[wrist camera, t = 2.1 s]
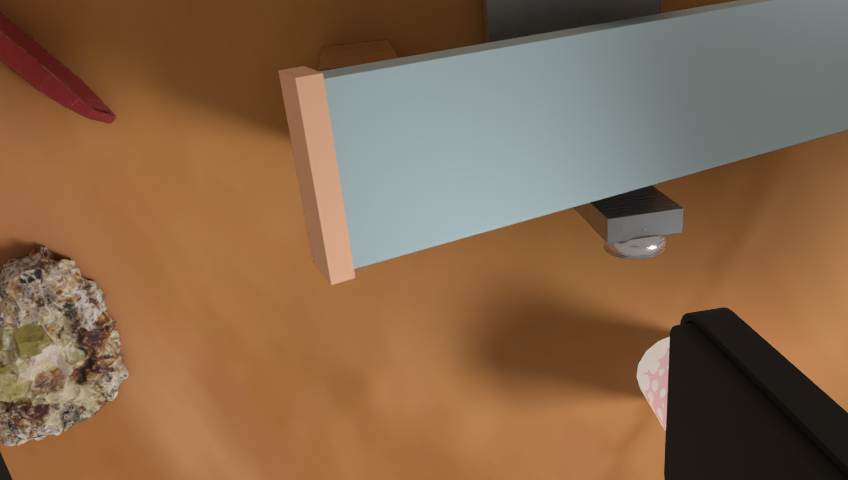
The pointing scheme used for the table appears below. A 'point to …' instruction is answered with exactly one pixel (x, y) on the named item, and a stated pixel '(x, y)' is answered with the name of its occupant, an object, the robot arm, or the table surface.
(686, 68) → the balance beam
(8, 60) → the utility knife
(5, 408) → the mineral rock
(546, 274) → the table surface
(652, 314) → the table surface
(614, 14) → the beam stand
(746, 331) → the robot arm
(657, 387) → the beverage cup
